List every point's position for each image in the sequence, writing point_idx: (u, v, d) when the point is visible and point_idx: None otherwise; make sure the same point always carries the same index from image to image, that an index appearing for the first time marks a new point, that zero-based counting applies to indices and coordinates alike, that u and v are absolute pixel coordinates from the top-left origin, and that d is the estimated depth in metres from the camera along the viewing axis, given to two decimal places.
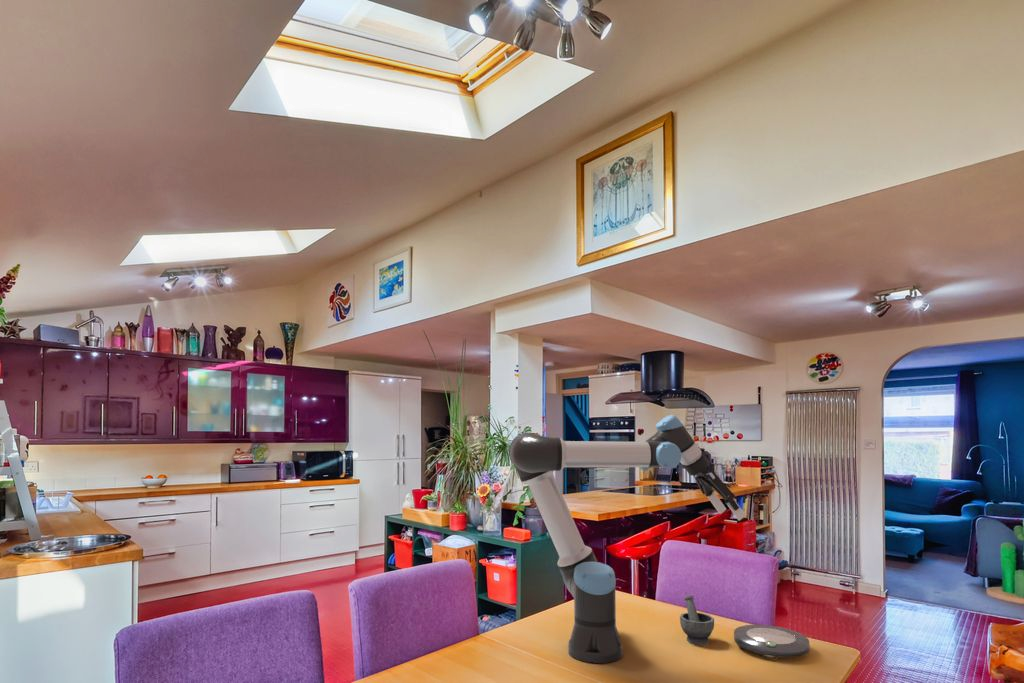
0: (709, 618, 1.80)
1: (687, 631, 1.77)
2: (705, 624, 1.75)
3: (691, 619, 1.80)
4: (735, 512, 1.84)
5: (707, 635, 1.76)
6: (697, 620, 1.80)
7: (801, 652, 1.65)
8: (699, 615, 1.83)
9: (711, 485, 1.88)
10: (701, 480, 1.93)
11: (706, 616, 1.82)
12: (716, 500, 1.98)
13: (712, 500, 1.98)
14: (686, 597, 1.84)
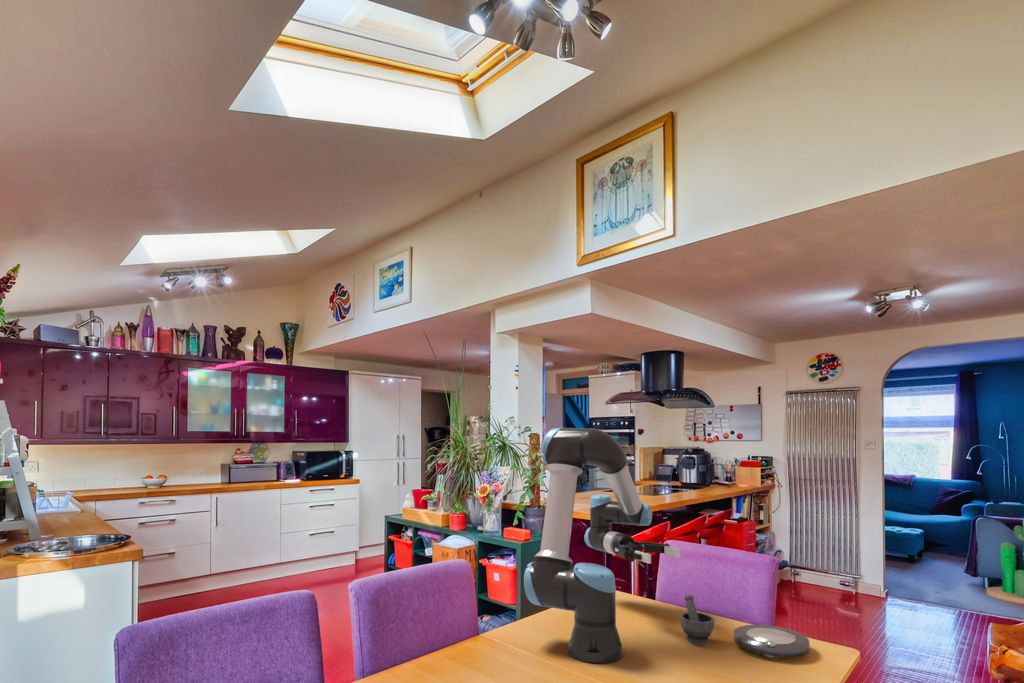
0: (709, 618, 1.80)
1: (687, 631, 1.77)
2: (705, 624, 1.75)
3: (691, 619, 1.80)
4: None
5: (707, 635, 1.76)
6: (697, 620, 1.80)
7: (801, 652, 1.65)
8: (699, 615, 1.83)
9: None
10: (631, 544, 2.03)
11: (706, 616, 1.82)
12: None
13: None
14: (686, 597, 1.84)
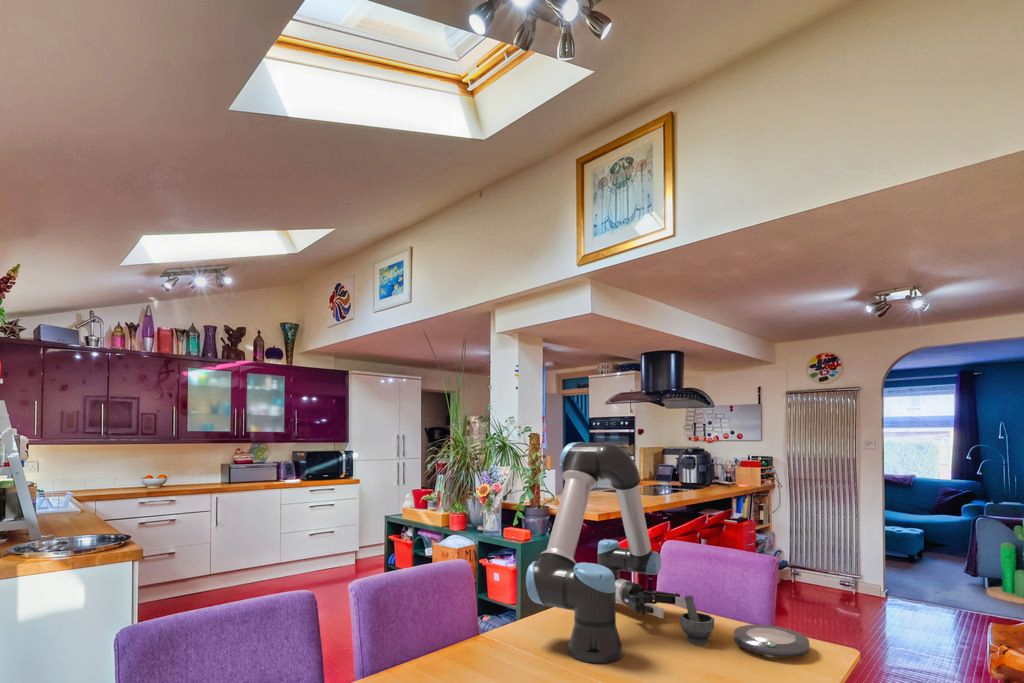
0: (709, 618, 1.80)
1: (687, 631, 1.77)
2: (705, 624, 1.75)
3: (691, 619, 1.80)
4: None
5: (707, 635, 1.76)
6: (697, 620, 1.80)
7: (801, 652, 1.65)
8: (699, 615, 1.83)
9: None
10: (641, 594, 1.98)
11: (706, 616, 1.82)
12: None
13: None
14: (686, 597, 1.84)
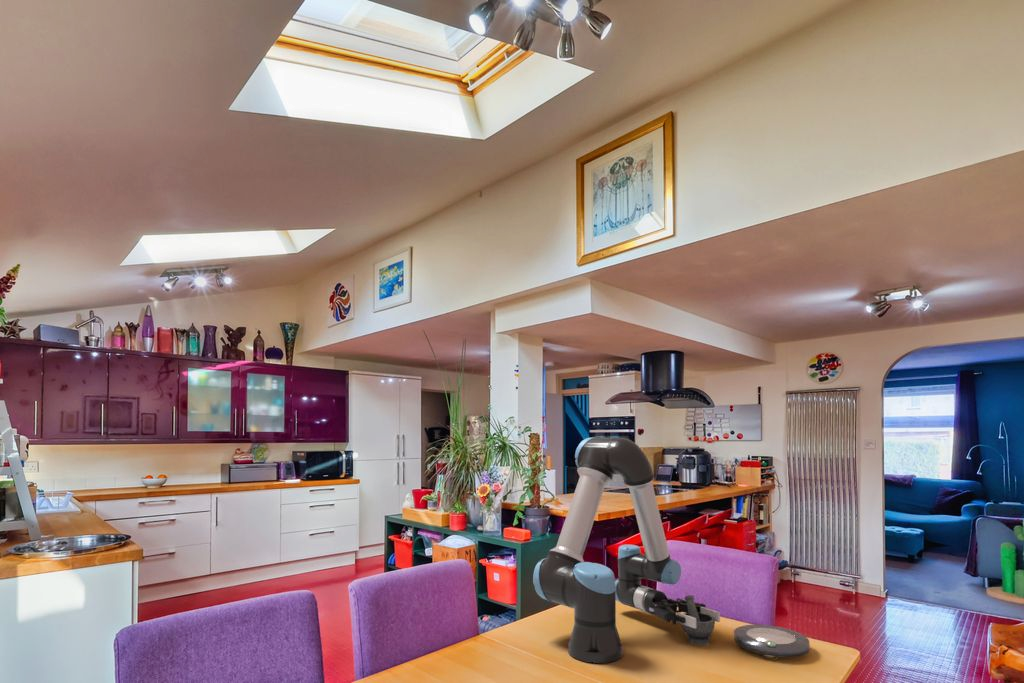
0: (710, 618, 1.80)
1: (688, 631, 1.77)
2: (706, 624, 1.75)
3: None
4: None
5: (708, 635, 1.76)
6: (698, 620, 1.80)
7: (801, 652, 1.65)
8: (699, 615, 1.83)
9: None
10: None
11: (707, 616, 1.82)
12: None
13: None
14: (687, 597, 1.84)
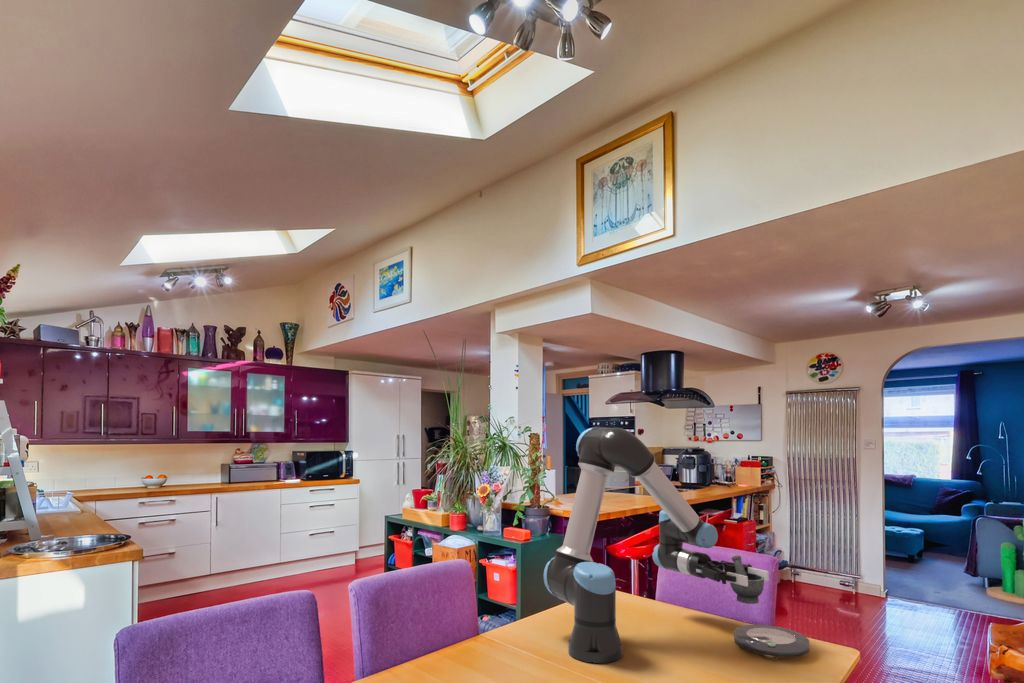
0: (758, 577, 1.80)
1: (738, 590, 1.76)
2: (757, 582, 1.74)
3: None
4: None
5: (758, 593, 1.75)
6: None
7: (801, 652, 1.65)
8: (747, 575, 1.83)
9: None
10: None
11: (755, 575, 1.81)
12: None
13: None
14: (734, 557, 1.84)
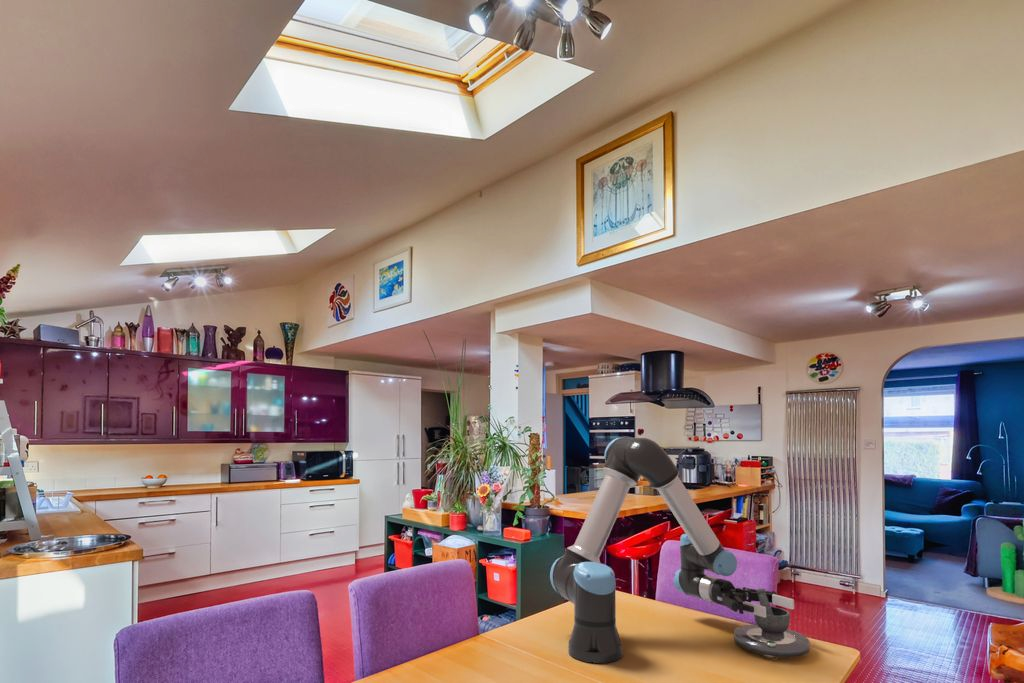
0: (784, 612, 1.75)
1: (763, 625, 1.71)
2: (782, 618, 1.69)
3: None
4: None
5: (784, 629, 1.70)
6: (772, 614, 1.75)
7: (801, 652, 1.65)
8: (772, 609, 1.78)
9: None
10: (735, 592, 1.83)
11: (780, 610, 1.76)
12: None
13: None
14: (758, 590, 1.79)
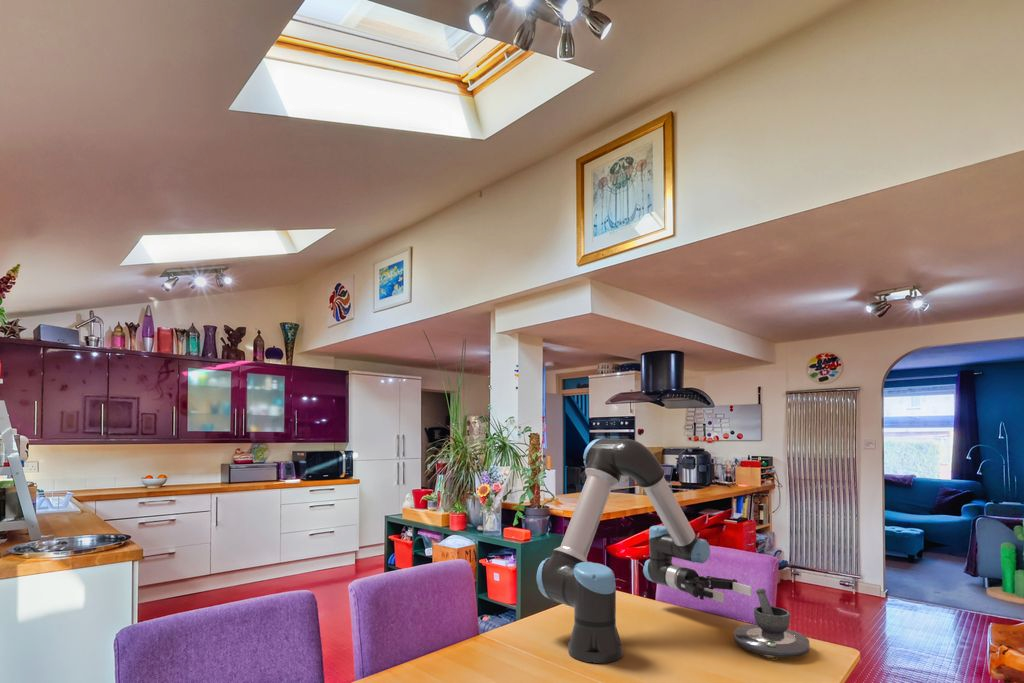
0: (784, 612, 1.75)
1: (763, 625, 1.71)
2: (782, 618, 1.69)
3: (765, 613, 1.75)
4: None
5: (784, 629, 1.70)
6: (772, 614, 1.75)
7: (801, 652, 1.65)
8: (772, 609, 1.78)
9: None
10: (698, 580, 1.94)
11: (780, 610, 1.76)
12: None
13: None
14: (758, 590, 1.79)
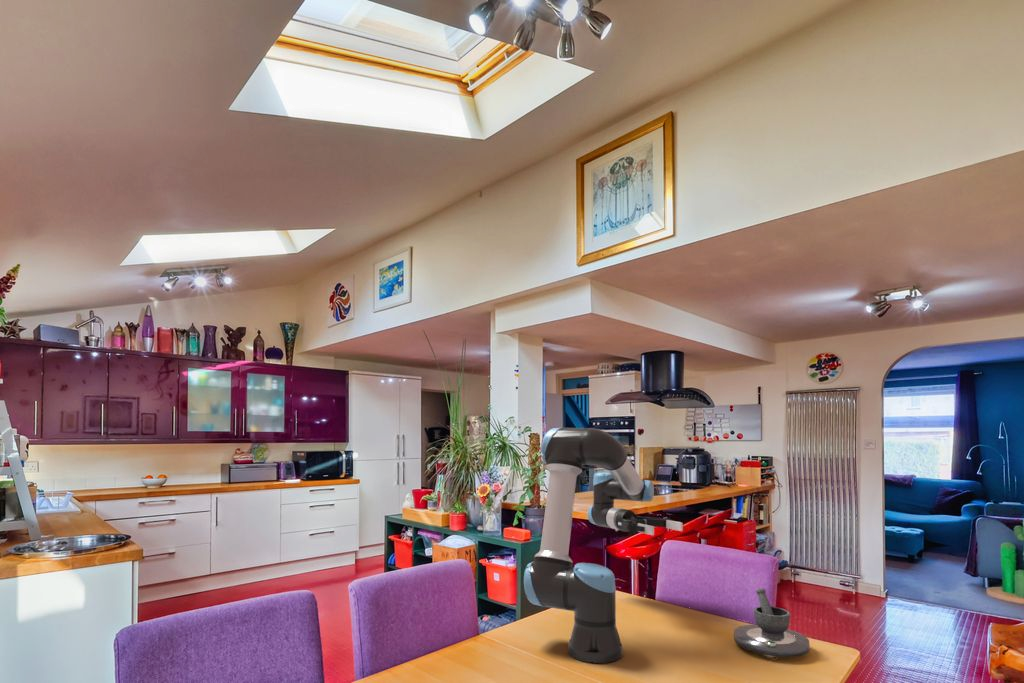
0: (784, 612, 1.75)
1: (763, 625, 1.71)
2: (782, 618, 1.69)
3: (765, 613, 1.75)
4: None
5: (784, 629, 1.70)
6: (772, 614, 1.75)
7: (801, 652, 1.65)
8: (772, 609, 1.78)
9: None
10: None
11: (780, 610, 1.76)
12: None
13: None
14: (758, 590, 1.79)
